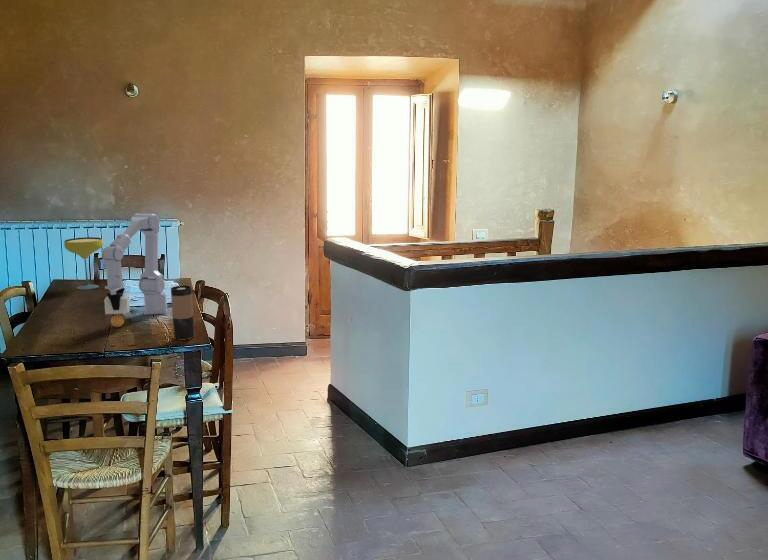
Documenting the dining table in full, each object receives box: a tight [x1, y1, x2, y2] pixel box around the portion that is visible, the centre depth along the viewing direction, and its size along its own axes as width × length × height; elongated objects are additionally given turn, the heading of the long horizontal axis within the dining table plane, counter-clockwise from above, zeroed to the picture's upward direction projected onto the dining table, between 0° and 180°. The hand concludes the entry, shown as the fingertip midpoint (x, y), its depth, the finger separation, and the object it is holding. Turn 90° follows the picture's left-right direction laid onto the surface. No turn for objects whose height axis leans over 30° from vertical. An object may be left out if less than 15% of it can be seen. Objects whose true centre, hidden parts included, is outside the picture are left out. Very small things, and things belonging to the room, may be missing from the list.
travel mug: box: [170, 285, 195, 340], centre depth 269 cm, size 8×8×20 cm
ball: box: [110, 314, 125, 328], centre depth 287 cm, size 5×5×5 cm
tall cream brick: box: [103, 295, 130, 315], centre depth 286 cm, size 9×6×6 cm
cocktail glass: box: [63, 236, 103, 291], centre depth 361 cm, size 18×18×25 cm
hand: (117, 308), depth 286 cm, fingers closed on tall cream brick, 6 cm apart
